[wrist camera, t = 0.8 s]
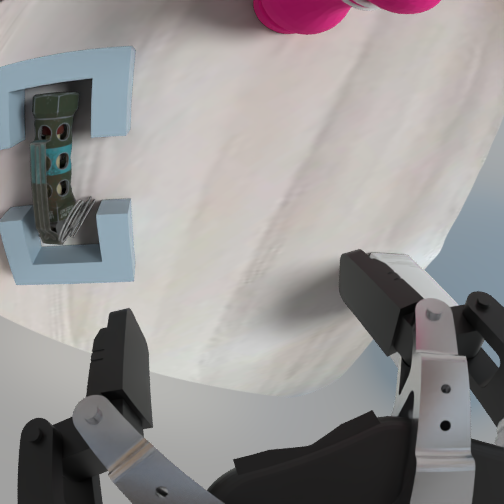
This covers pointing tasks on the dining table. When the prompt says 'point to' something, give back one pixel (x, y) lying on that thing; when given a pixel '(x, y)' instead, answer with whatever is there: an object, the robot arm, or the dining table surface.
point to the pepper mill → (325, 12)
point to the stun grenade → (54, 168)
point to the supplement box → (414, 281)
